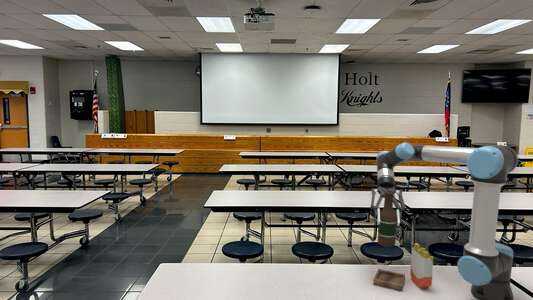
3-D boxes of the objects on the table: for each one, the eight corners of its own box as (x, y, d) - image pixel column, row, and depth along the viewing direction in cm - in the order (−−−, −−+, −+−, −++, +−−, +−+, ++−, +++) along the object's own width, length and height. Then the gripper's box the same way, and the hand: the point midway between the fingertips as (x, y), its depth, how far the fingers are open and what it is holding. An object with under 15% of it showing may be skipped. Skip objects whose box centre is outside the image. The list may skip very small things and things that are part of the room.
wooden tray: (405, 279, 162) (405, 274, 162) (401, 291, 152) (402, 286, 151) (378, 273, 168) (378, 268, 168) (373, 284, 157) (373, 279, 157)
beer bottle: (397, 247, 154) (399, 194, 151) (378, 246, 156) (381, 193, 153) (394, 241, 162) (396, 190, 159) (376, 240, 163) (378, 189, 160)
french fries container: (419, 278, 164) (421, 241, 162) (432, 290, 153) (435, 251, 151) (409, 278, 163) (412, 241, 161) (422, 291, 153) (425, 251, 150)
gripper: (407, 185, 169) (411, 229, 155) (363, 183, 173) (363, 225, 159) (409, 176, 163) (415, 221, 149) (364, 174, 167) (365, 217, 153)
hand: (388, 223), depth 154 cm, fingers closed on beer bottle, 7 cm apart
